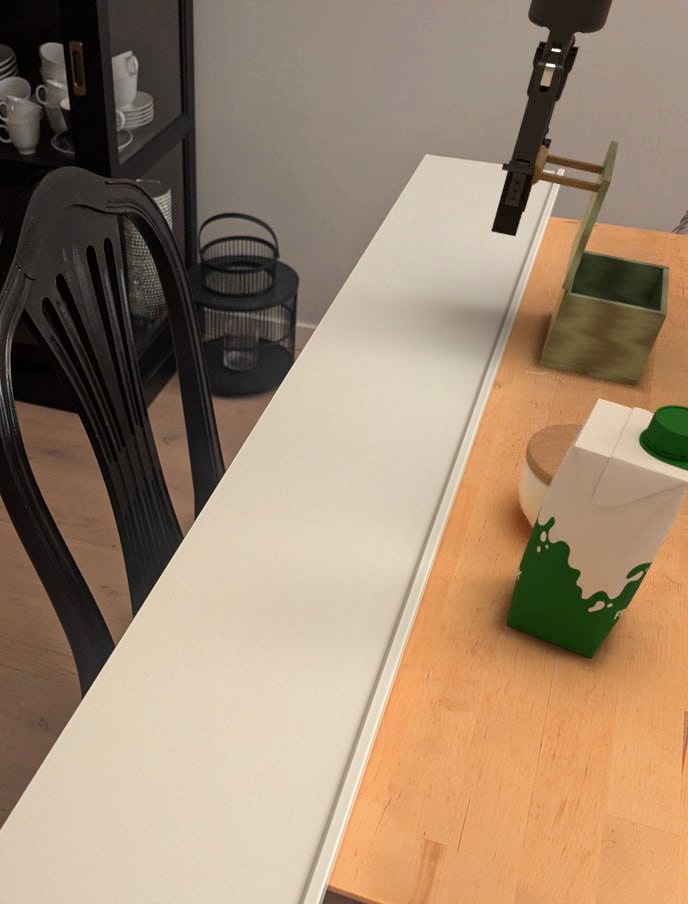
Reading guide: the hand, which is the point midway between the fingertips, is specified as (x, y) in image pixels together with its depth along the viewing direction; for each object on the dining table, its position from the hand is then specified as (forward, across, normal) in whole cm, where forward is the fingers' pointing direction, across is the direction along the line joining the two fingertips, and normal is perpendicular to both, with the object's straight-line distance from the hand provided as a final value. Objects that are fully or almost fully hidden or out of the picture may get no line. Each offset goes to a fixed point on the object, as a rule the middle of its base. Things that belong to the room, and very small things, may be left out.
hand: (508, 220), depth 104 cm
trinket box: (+13, +37, +14) cm, 42 cm away
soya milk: (+13, +50, +15) cm, 54 cm away
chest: (+13, 0, +14) cm, 19 cm away
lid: (-2, 0, +9) cm, 9 cm away
